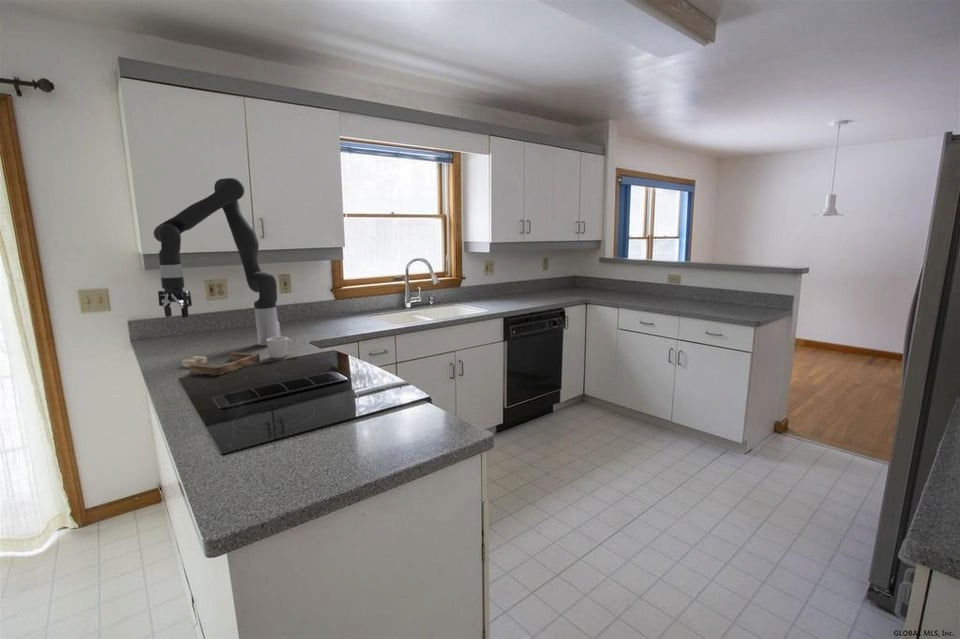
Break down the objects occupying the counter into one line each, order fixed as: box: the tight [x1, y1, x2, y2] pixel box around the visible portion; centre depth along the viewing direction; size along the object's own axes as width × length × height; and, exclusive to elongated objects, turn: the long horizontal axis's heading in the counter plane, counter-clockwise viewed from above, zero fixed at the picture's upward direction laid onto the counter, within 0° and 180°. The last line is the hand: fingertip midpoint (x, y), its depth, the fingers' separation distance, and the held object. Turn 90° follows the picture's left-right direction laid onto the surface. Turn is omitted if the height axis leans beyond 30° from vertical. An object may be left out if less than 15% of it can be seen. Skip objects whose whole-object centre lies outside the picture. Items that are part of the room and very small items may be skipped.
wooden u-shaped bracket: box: [189, 351, 261, 376], centre depth 188 cm, size 20×14×3 cm
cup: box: [266, 335, 293, 359], centre depth 202 cm, size 11×8×8 cm
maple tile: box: [181, 356, 208, 368], centre depth 192 cm, size 6×6×3 cm
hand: (176, 316), depth 193 cm, fingers open, 8 cm apart
